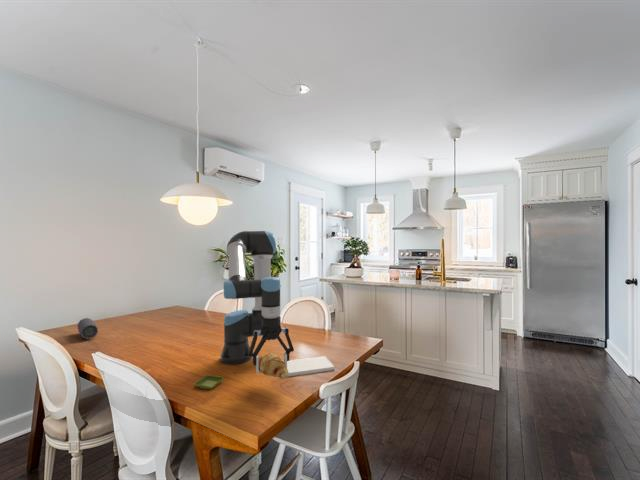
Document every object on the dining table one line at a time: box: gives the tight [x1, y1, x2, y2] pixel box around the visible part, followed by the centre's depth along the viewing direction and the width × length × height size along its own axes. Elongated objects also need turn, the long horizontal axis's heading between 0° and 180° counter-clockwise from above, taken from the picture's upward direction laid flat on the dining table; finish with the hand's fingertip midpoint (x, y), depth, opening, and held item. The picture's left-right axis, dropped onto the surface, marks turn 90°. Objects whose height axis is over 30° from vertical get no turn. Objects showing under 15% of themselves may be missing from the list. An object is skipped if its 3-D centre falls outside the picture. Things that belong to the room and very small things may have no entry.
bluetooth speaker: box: [77, 317, 99, 340], centre depth 199 cm, size 23×9×10 cm, turn 42°
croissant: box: [258, 352, 288, 379], centre depth 128 cm, size 21×10×8 cm, turn 45°
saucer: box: [193, 374, 225, 390], centre depth 131 cm, size 9×9×2 cm
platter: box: [282, 355, 336, 378], centre depth 148 cm, size 24×14×2 cm, turn 107°
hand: (271, 370), depth 127 cm, fingers closed on croissant, 11 cm apart
